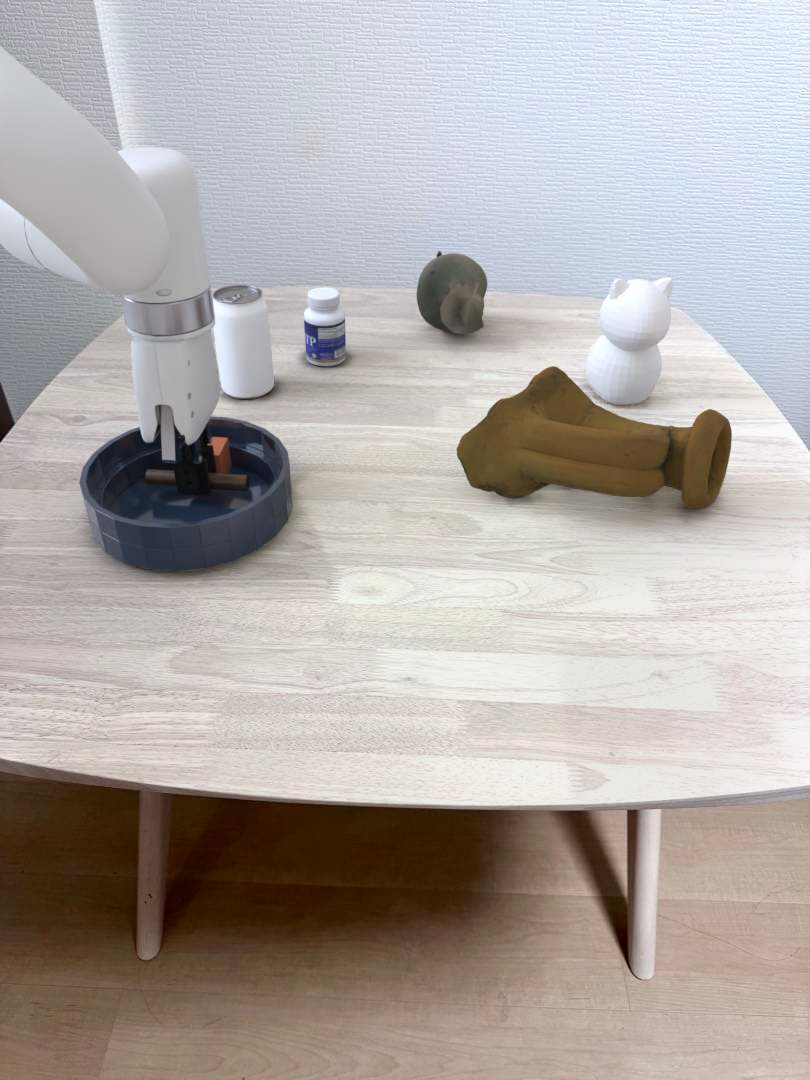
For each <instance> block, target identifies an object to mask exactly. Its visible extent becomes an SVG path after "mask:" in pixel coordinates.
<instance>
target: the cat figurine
mask: <svg viewBox="0 0 810 1080" xmlns="http://www.w3.org/2000/svg"><path fill="white" fill-rule="evenodd" d="M609 288H610V289H609V292H608V294H607V296H606V297H605V298H604V300H603V302H602V303H601V306H600V308H599V309H600V310H599V313H598V321H599V322H598V325H599V327H600V330H601V333H602V335H600V336H599V337H597V339H596V340H595V341H594V342H593V344H592V345H591V346H590V349H589V351H588V353H587V357H586V360H585V364H584V365H585V366H584V378H585V381H586V382H587V384H588V386H589V387H590V388H591V390H593V391H594V393H595V394H596V395H597V396H598V397H600V399H602V401H605V402H606V403H608V404H612V405H620V406H621V405H622V406H629V405H637V404H640V403H642V402H644V401H646V400H647V399H648V398H649V397H650V396H651V394H652V393H653V392H654V391H655V388H656V386H657V384H658V382H659V379H660V377H661V374H662V369H663V368H662V367H663V361H662V354H661V351H660V349H659V346H658V344H659V343H660V342H661V341H663V340H664V339H665V338H666V335H667V333H668V332H669V330H670V325H671V321H672V320H671V319H672V307H671V302H670V297H671V296H672V292H673V288H674V280H673V278H672V277H667V276H666V277H663V278H660V279H657V280H655V281H651V280H647V279H643V278H641V279H640V278H636V279H635V278H634V279H629V280H626V279H624V278H621V277H618V278H615V279H614V281H612V283H611V285H610V287H609Z"/></svg>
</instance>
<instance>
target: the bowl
mask: <svg viewBox="0 0 810 1080" xmlns="http://www.w3.org/2000/svg"><path fill="white" fill-rule="evenodd" d="M210 421H211V428H212V436H213V437H224V438H228V440H229V448H230V456H231V463H232V467H231V469H230V471H229V473H228V474H239V475H248V476H249V479H250V485H249V489H248V491H233V490H216V489H211V492H210V494H209V495H208V496H202V495H186V494H180V493H178V491H177V487H168V486H152V485H147V484H146V481H145V474H146V471H147V470H148V469H157V470H173V471H174V469H173V464H172V463H163V461H162V444H161V431H160V432H159V434H158V435H157V437H156V439H155V440H154V442H151V443H146V442H145V441H144V440H143V438H142V435H141V430H140V426H138V427H135V428H132V429H129V430H127V431H125V432H123V433H121V434H119V435H117V436H116V437H114V438H111V439H109V440H108V441H107V442H105V443H104V444H103V445H102V446H100V447H99V448H98V449H96V450H95V451H94V452H93V453H91V455H90V456H89V458H88V459H87V461H86V462H85V464H84V465H83V467H82V469H81V474H80V478H79V481H78V483H79V484H78V485H79V487H80V491H81V495H82V499H83V503H84V507H85V511H86V514H87V518H88V521H89V525H90V529H91V532H92V535H93V536H92V537H93V539H94V541H95V542H96V543H97V544H98V545H99V546H100V547H101V549H102V550H103V551H104V552H105V553H106V554H108V555H109V556H111V557H113V558H115V559H117V560H118V561H121V562H122V563H124V564H127V565H130V566H134V567H138V568H142V569H145V570H151V571H163V572H164V571H166V572H185V571H186V572H187V571H197V570H206V569H211V568H214V567H218V566H220V565H221V566H222V565H225V564H229V563H233V562H235V561H237V560H239V559H242V558H244V557H246V556H248V555H250V554H253V553H255V552H257V551H259V550H260V549H262V548H263V547H264V546H265V545H267V544H269V543H270V542H271V541H272V540H274V539H275V538H277V536H278V535H279V534H280V532H281V531H282V530H283V529H284V527H286V525H287V524H288V522H289V519H290V516H291V514H292V511H293V508H294V503H293V502H294V501H293V492H292V479H291V465H290V458H289V451H288V450H287V448H286V447H285V445H284V444H283V442H282V441H281V439H280V438H278V437H277V436H276V435H274V434H273V433H272V432H271V431H269V430H267V429H266V428H265V427H262V426H259V425H258V424H254V423H251V422H249V421H246V420H241V419H237V418H231V417H225V416H212V415H211V417H210ZM180 444H186V442H179V445H180Z"/></svg>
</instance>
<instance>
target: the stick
mask: <svg viewBox="0 0 810 1080" xmlns="http://www.w3.org/2000/svg"><path fill="white" fill-rule="evenodd" d="M209 479H210V486H211V489H216V490H233V491H248V489H249V485H250V479H249V476H248V475H239V474H223V473H209ZM145 481H146V484H147V485H152V486H168V487H177V486H176V480H175V475H174V471H173V470H157V469H148V470H147V471H146V474H145Z"/></svg>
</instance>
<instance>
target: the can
mask: <svg viewBox="0 0 810 1080" xmlns="http://www.w3.org/2000/svg"><path fill="white" fill-rule="evenodd" d="M212 299H213V307H214V314H215V325H214V326H213V327H212V331H213V336H214V343H215V344H214V346H215V353H216V361H217V368H218V375H219V383H220V387H221V388H220V389H221V390H222V392H223V393H224V394H225V395H227V396H229V397H230V398H233V399H237V400H254V399H258V398H261V397H263V396H266V395H267V394H269V393H270V392H271V391H272V389H273V388H274V386H275V376H274V363H273V351H272V341H271V330H270V321H269V310H268V303H267V302H266V299H265V298H264V297H263V291H262V289H261V288H260V287H258V286H254V285H252V284H251V285H250V284H230V285H225V286H222V287H219V288H218V289H215V290H214V292H212Z"/></svg>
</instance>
